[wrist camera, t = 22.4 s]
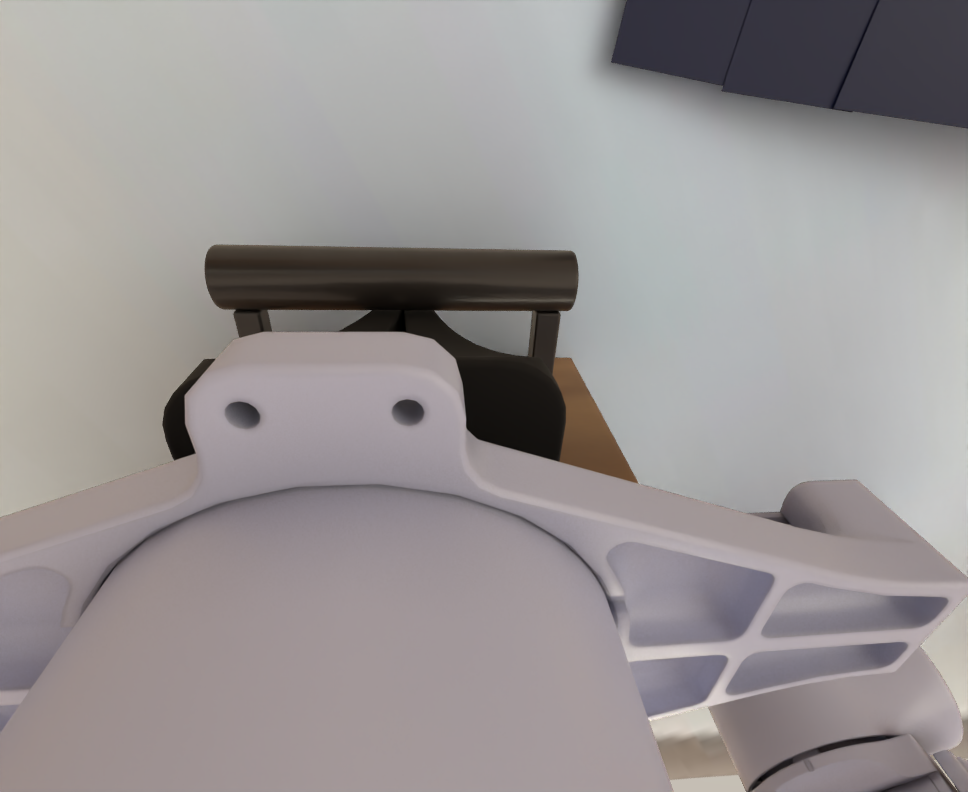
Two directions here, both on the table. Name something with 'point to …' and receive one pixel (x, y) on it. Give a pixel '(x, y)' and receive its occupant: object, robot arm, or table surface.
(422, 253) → the drawer
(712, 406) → the table surface
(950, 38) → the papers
